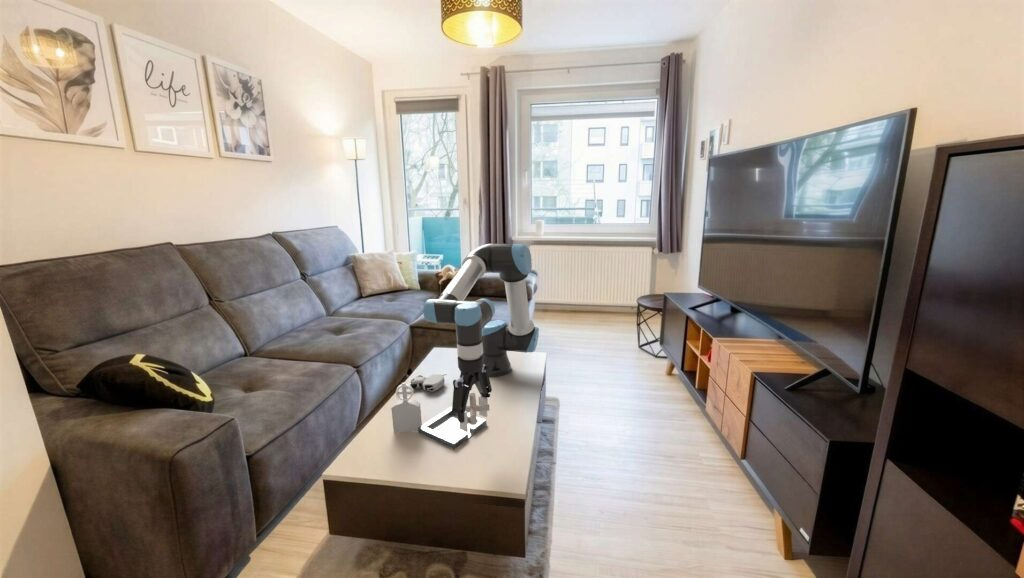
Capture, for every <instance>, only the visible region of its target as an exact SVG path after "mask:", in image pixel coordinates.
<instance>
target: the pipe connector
mask: <svg viewBox="0 0 1024 578" xmlns="http://www.w3.org/2000/svg"><path fill="white" fill-rule="evenodd" d="M468 398H469V405H466V409H465V411H467V413H470V420H471V424H472V425H476V424H477V412H479V411H487V412H488V411H489V412H490V404H488V403H487V405H479V404H478V405H477V399H476V393H475V392H469V396H468Z"/></svg>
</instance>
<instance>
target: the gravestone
mask: <svg viewBox="0 0 1024 578" xmlns="http://www.w3.org/2000/svg"><path fill="white" fill-rule="evenodd" d="M406 387H407V388H409V389H406ZM399 389H401V390H399ZM408 394H410V395H409V396H408ZM395 395H396V397H397V398H398V400H397V401H396V402H394V403H393V404H392V406H391V417H392V419H391V420H392V428H393V433H407V432H409V433H410V432H418V427H420V426H422V425H423V424H422V411H421V410H422V409H421V403H420V402H419V401H417V400H413V399H411V398H412V397H413V395H414V389H413V388H412V387H411V386H410V384H408V383H406V382H401V384H399V385H398V386H397V388H396V390H395ZM401 395H402V396H401Z"/></svg>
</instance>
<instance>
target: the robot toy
mask: <svg viewBox="0 0 1024 578" xmlns="http://www.w3.org/2000/svg"><path fill="white" fill-rule="evenodd" d="M445 376H447V373H444V374H431V375H429V376H428V377H425V376H423V375H417V376H415V377H414V378H412V379H411V380H410V384H409V385H410V386H411V387H412V388H413V390H414V389H420V388H421V389H423V390H424V391H426V392H427V391H429V392H435V391H438V390H439V389H440V388H442V387H443V385H444V384H445V383H446V382H445V381H446V380H445ZM406 390H410V389H409V388H407V387H406Z"/></svg>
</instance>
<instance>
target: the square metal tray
mask: <svg viewBox="0 0 1024 578" xmlns="http://www.w3.org/2000/svg"><path fill="white" fill-rule="evenodd" d="M476 416H477V415H476ZM467 419H468V431H467V432H465V431H463V430H460V424H459V421H458V414H457V413H454V412H452V406H450V407H449V408H447V409H446V410H444V411H442V412H440V413H438V415H436V416H434V417H432V418H430V419H429V420H428V421H426V422H424V423H423V424H422V426H420V427H418V431H417V432H418V434H419V435H422V436H424V437H426V438H428V439H431V440H434V441H435V442H437V443H439V444H442V445H444V446H446V447H449V448H451V449H453V450H455V449H456V448H458V447H459V446H461V445H462V444H464V442H466V441H467V440H469V439H470V438H472V436H474V435H475V434H476V433H478V432H479V431H481V430H482V429H483V428H485V427H486V426H487V419H485V418H484V417H483V418H482V417H480V416H477V424H476V425H472V424H471V420H470V412H467Z"/></svg>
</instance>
